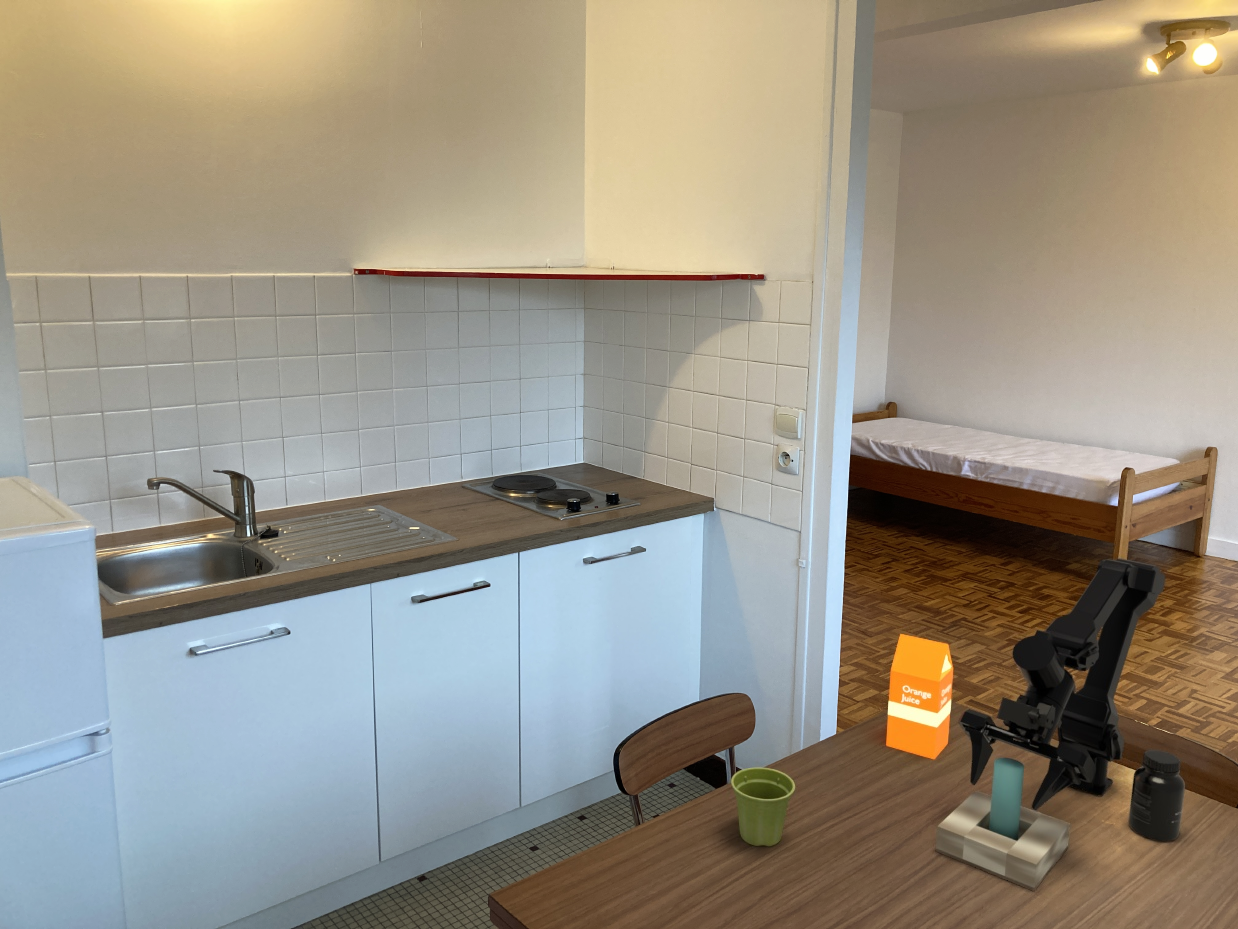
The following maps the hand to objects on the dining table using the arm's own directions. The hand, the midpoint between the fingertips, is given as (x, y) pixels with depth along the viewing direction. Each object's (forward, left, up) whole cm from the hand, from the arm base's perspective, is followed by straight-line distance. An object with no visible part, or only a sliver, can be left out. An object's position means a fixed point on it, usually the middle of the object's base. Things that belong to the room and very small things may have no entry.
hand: (1002, 796), depth 139 cm
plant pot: (+20, -28, -9) cm, 35 cm away
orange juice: (-24, -24, -9) cm, 35 cm away
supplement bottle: (-22, +15, -9) cm, 29 cm away
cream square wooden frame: (-1, 0, -9) cm, 9 cm away
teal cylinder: (-1, 0, -9) cm, 9 cm away
